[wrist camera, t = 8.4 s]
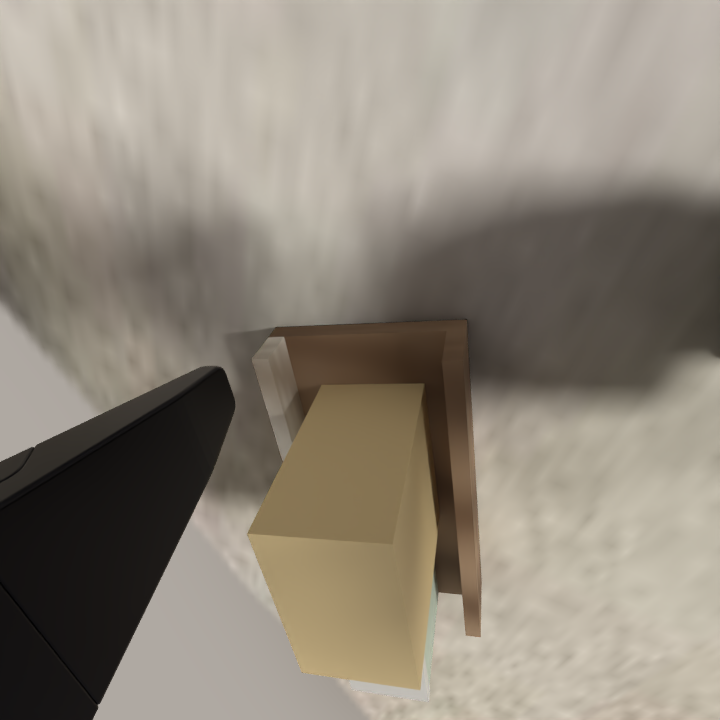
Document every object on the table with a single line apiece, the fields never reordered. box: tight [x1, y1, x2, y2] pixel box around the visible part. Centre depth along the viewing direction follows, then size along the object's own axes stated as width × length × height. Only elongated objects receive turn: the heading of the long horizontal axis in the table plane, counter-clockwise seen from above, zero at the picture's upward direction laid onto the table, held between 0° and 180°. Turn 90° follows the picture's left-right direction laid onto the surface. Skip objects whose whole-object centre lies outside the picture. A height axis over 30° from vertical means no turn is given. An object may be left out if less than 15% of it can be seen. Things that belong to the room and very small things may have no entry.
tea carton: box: [247, 383, 440, 690], centre depth 22 cm, size 8×5×9 cm, turn 9°
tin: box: [349, 563, 438, 702], centre depth 28 cm, size 4×4×6 cm
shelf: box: [252, 319, 482, 637], centre depth 26 cm, size 18×9×4 cm, turn 9°
